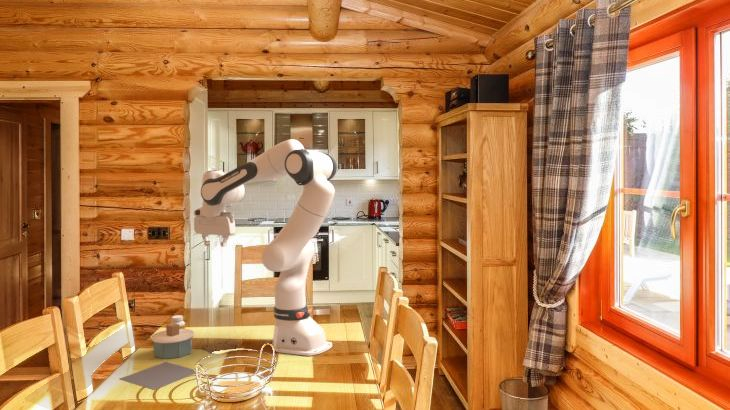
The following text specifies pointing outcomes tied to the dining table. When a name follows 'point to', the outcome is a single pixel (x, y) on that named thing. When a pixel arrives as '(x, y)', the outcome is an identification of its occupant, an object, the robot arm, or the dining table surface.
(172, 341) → the lid
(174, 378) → the mat
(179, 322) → the supplement bottle
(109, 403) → the dining table surface
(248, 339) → the dining table surface
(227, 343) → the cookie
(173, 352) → the grey octagonal ring
